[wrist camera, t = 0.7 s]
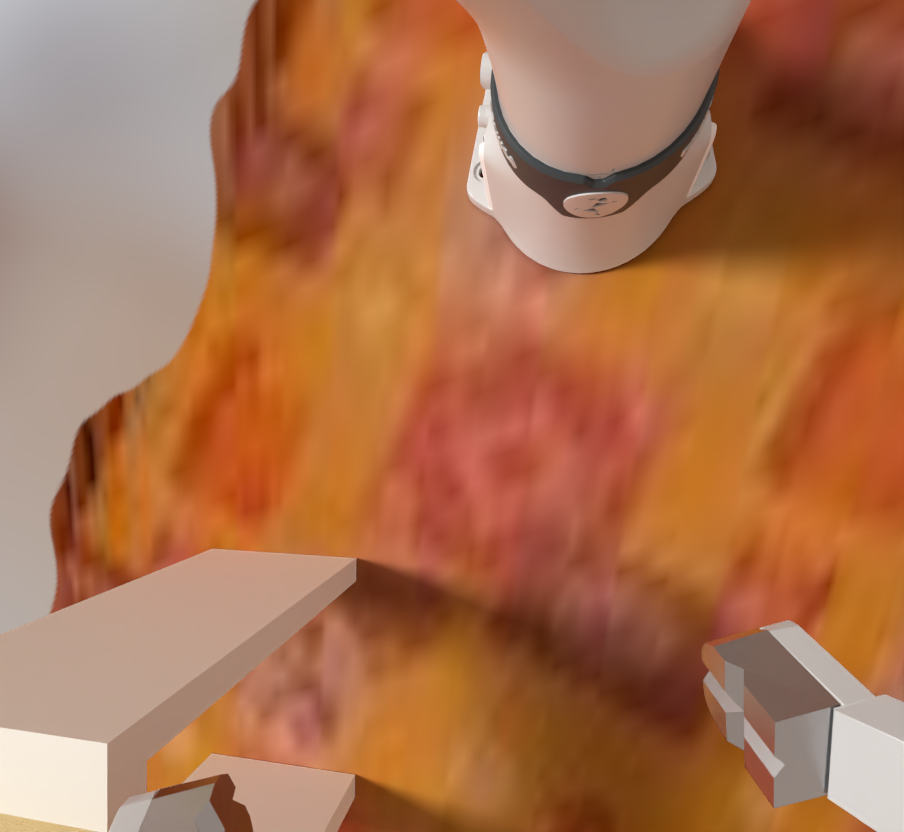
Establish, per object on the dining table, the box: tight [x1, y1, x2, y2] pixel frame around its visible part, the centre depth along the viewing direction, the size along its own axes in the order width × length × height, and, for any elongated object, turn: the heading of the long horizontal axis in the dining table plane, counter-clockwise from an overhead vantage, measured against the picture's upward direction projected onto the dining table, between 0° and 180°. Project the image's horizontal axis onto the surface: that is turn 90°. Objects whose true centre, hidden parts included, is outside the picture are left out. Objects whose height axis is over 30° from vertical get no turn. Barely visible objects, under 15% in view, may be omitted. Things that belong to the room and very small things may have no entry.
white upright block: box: [0, 549, 357, 832], centre depth 34 cm, size 21×14×26 cm, turn 179°
